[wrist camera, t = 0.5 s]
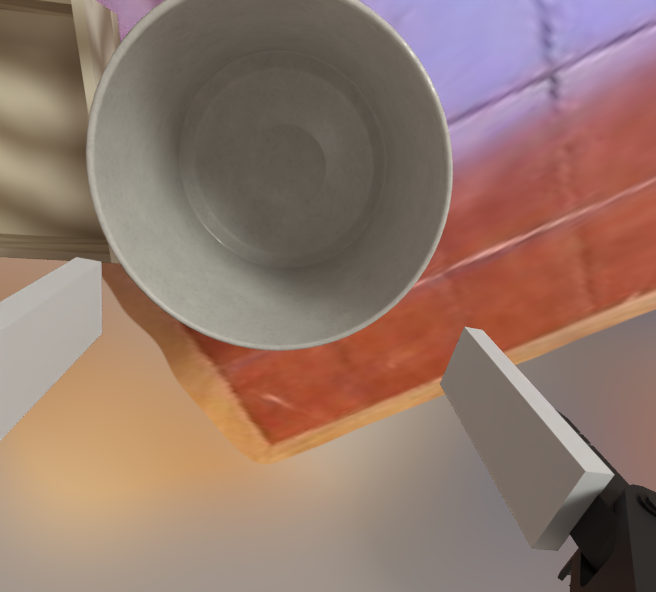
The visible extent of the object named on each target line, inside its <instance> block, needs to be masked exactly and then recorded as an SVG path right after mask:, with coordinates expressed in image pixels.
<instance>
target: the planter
mask: <svg viewBox="0 0 656 592" xmlns="http://www.w3.org/2000/svg"><path fill="white" fill-rule="evenodd" d="M86 169H87V177H88V184H89V190H90V195H91V199H92V203H93V207H94V210H95V213H96V216H97V219H98V221H99V224H100V227H101V229H102V231H103V234H104V236H105V238H106V240H107V242H108V244H109V246H110V248H111V249H112V251H113V253H114V255H115V256H116V258H117V260H118V261H119V263H120V264H121V266H122V267H123V268H124V270H125V271H126V273H127V274H128V275H129V276H130V278H131V279H132V280H133V281H134V282H135V284H136V285H137V286H138V287H139V288H140V289H141V290H142V291H143V292H144V293H145V294H146V295H147V296H148V297H149V298H150V299H151V300H152V301H153V302H154V303H155V304H157V305H158V306H159V307H160V308H161V309H162V310H164V311H165V312H166V313H168V314H169V315H171V316H172V317H173V318H175V319H176V320H178V321H180V322H181V323H183V324H185V325H186V326H188V327H190V328H192V329H194V330H196V331H198V332H200V333H202V334H204V335H206V336H209V337H211V338H214V339H216V340H219V341H222V342H225V343H229V344H232V345H236V346H241V347H246V348H252V349H260V350H275V351H282V350H297V349H305V348H311V347H316V346H320V345H324V344H327V343H331V342H334V341H337V340H340V339H342V338H345V337H347V336H350V335H352V334H354V333H356V332H358V331H360V330H361V329H363V328H365V327H367V326H368V325H370V324H372V323H373V322H375V321H376V320H378V319H379V318H380V317H382V316H383V315H384V314H386V313H387V312H388V311H389V310H390V309H392V308H393V307H394V306H395V305H396V304H397V303H398V302H399V301H400V300H401V299H402V298H403V297H404V296H405V295H406V294H407V293H408V292H409V290H410V289H411V288H412V287H413V285H414V284H415V283H416V282H417V280H418V279H419V278H420V276H421V275H422V273H423V272H424V270H425V269H426V267H427V265H428V263H429V262H430V260H431V258H432V256H433V254H434V252H435V250H436V248H437V245H438V243H439V241H440V238H441V235H442V232H443V229H444V226H445V223H446V220H447V215H448V211H449V206H450V200H451V193H452V180H453V162H452V148H451V141H450V135H449V130H448V126H447V122H446V118H445V114H444V111H443V108H442V105H441V102H440V99H439V97H438V94H437V92H436V90H435V88H434V86H433V83H432V81H431V79H430V77H429V75H428V74H427V72H426V70H425V69H424V67H423V65H422V63H421V62H420V60H419V59H418V57H417V56H416V55H415V53H414V52H413V51H412V49H411V48H410V46H409V45H408V44H407V42H406V41H405V40H404V39H403V38H402V37H401V36H400V35H399V34H398V33H397V32H396V31H395V29H394V28H393V27H392V26H391V25H389V24H388V23H387V22H386V21H385V20H384V19H383V18H382V17H380V16H379V15H378V14H377V13H376V12H374V11H373V10H372V9H370V8H369V7H367V6H366V5H364V4H363V3H362V2H360V1H359V0H165V1H163V2H162V3H160V4H159V5H157V6H156V7H155V8H153V9H152V10H151V11H150V12H149V13H148V14H146V15H145V16H144V17H143V18H142V19H141V20H140V21H138V23H137V24H136V25H135V26H134V27H133V28H132V29H131V30H130V32H129V33H128V34H127V35H126V36H125V37H124V39H123V40H122V41H121V43H120V44H119V46H118V47H117V49H116V50H115V52H114V53H113V54H112V56H111V58H110V60H109V62H108V64H107V66H106V68H105V70H104V71H103V73H102V76H101V78H100V81H99V83H98V86H97V89H96V91H95V94H94V98H93V102H92V105H91V109H90V113H89V120H88V126H87V134H86Z"/></svg>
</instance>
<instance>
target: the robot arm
mask: <svg viewBox="0 0 656 592" xmlns="http://www.w3.org/2000/svg"><path fill="white" fill-rule="evenodd" d="M101 334H102V264H101V261H95V260H90V259H84V258H78V257H76V258H74V259H72V260H71V261H69V262H67V263H66V264H64V265H62V266H61V267H59V268H57V269H55V270H54V271H52V272H50V273H49V274H47V275H45V276H43V277H42V278H40V279H38V280H37V281H35V282H33V283H32V284H30V285H28V286H26V287H25V288H23V289H21V290H20V291H18V292H16V293H15V294H13V295H11V296H10V297H8V298H6V299H5V300H3V301H1V302H0V440H1V439H2V438H3V437H4V436H5V435H6V434H7V433H8V432H9V431H10V430H11V429H12V428H13V427H14V426H15V424H17V422H18V421H19V420H20V419H21V418H22V417H23V416H24V415H25V414H26V413H27V412H28V411H29V410H30V409H31V408H32V407H33V405H34V404H36V402H37V401H38V400H39V399H40V398H41V397H42V396H43V395H44V394H45V393H46V392H47V391H48V390H49V389H50V388H51V387H52V385H54V383H55V382H56V381H57V380H58V379H59V378H60V377H61V376H62V375H63V374H64V373H65V372H66V371H67V370H68V369H69V368H70V366H72V364H73V363H74V362H75V361H76V360H77V359H78V358H79V357H80V356H81V355H82V354H83V353H84V352H85V351H86V350H87V349H88V347H90V345H91V344H92V343H93V342H94V341H95V340H96V339H97V338H98V337H99V336H100V335H101ZM440 385H441V387H442V389H443V390H444V392H445V394H446V396H447V398H448V399H449V401H450V403H451V405H452V406H453V408H454V410H455V412H456V414H457V416H458V417H459V419H460V421H461V423H462V425H463V426H464V428H465V430H466V432H467V433H468V435H469V437H470V439H471V441H472V443H473V444H474V446H475V448H476V450H477V452H478V453H479V455H480V457H481V458H482V461H483V462H484V464H485V466H486V468H487V469H488V471H489V473H490V475H491V477H492V478H493V480H494V482H495V484H496V486H497V487H498V489H499V491H500V493H501V495H502V497H503V498H504V500H505V502H506V504H507V505H508V507H509V509H510V511H511V513H512V514H513V516H514V518H515V520H516V521H517V523H518V525H519V527H520V529H521V530H522V532H523V534H524V536H525V538H526V540H527V541H528V543H529V545H530V547H531V549H543V550H556V551H558V550H559V548H560V547H561V546H562V544H563V543H564V542H565V540H566V539H567V537H568V536H569V535H571V537H572V538H573V540H574V541H575V543H576V544H577V546H578V547H579V548H578V549H577V551H576V552H575V553H574V555H573V556H572V557H571V559H570V560H569V561H568V562H567V564H566V565H565V566H564V567H563V569H562V570H561V572H560V573H559V576H558V578H559V579H560V580H563V579H564V578H565V577H566V576H567V575H571V583H570V585H569V586H570V592H656V492H654V491H652V490H649V489H647V488H645V487H643V486H638V485H629V484H628V483H627V482H626V481H625V480H624V479H623V477H622V476H621V475H620V474H619V473H618V472H617V471H616V470H615V469H614V468H613V467H612V466H611V465H610V463H608V461H607V460H606V459H605V458H604V457H603V456H602V455H601V454H600V453H599V452H598V451H597V450H596V449H595V447H594V446H591V445H590V442H589V441H588V440H587V439H586V438H585V437H584V435H582V434H580V431H579V430H578V429H577V428H576V427H575V426H574V425H573V424H572V423H571V422H570V420H569V419H568V418H566V417H565V416H563V415H562V414H561V413H560V412H558V411H557V410H556V409H554V408H553V407H552V406H551V405H550V404H549V402H548V401H547V400H546V399H545V398H544V397H543V396H542V395H541V394H540V393H539V391H538V390H537V389H536V388H535V387H534V386H533V385H532V384H531V383H530V382H529V381H528V380H527V378H526V377H525V376H524V375H523V374H522V373H521V372H520V371H519V370H518V368H517V367H516V366H515V365H514V364H513V363H512V362H511V361H510V360H509V359H508V358H507V356H506V355H505V354H504V353H503V352H502V351H501V350H500V349H499V348H498V347H497V346H496V344H495V343H494V342H493V341H492V340H491V339H490V338H489V337H488V336H487V335H486V333H485V332H484V331H483V330H479V329H474V328H468V327H464V329H463V331H462V334H461V336H460V338H459V341H458V343H457V345H456V348H455V350H454V352H453V355H452V357H451V359H450V362H449V364H448V366H447V369H446V371H445V373H444V376H443V378H442V380H441V383H440Z"/></svg>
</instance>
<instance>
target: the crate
mask: <svg viewBox="0 0 656 592" xmlns="http://www.w3.org/2000/svg"><path fill="white" fill-rule="evenodd" d="M119 44H120V34H119V26H118V17H117V14H116V13H114V12H113V11H111V10H109V9H108V8H106V7H105V6H103V5H102V4H100V3H99V2H97V1H96V0H0V257H10V258H28V259H47V260H66V261H71V260H72V259H74V258H76V257H78V258H84V259H90V260H95V261H101V262H102V263H119V261H118V260H117V258H116V256H115V255H114V253H113V251H112V249H111V248H110V246H109V244H108V242H107V240H106V238H105V236H104V234H103V231H102V229H101V227H100V224H99V221H98V219H97V216H96V213H95V210H94V207H93V203H92V199H91V195H90V190H89V184H88V177H87V169H86V134H87V126H88V120H89V113H90V109H91V105H92V102H93V98H94V94H95V91H96V89H97V86H98V83H99V81H100V78H101V76H102V73H103V71H104V70H105V68H106V66H107V64H108V62H109V60H110V58H111V56H112V54H113V53H114V52H115V50H116V49H117V47H118V46H119Z"/></svg>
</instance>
